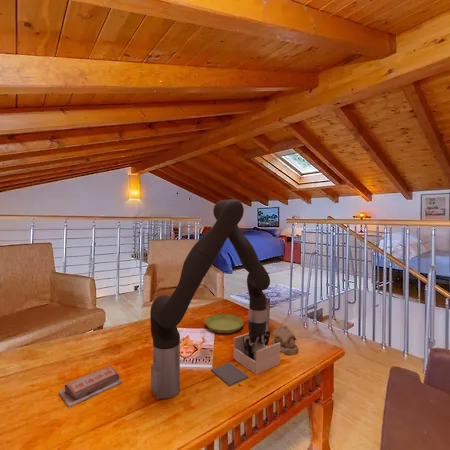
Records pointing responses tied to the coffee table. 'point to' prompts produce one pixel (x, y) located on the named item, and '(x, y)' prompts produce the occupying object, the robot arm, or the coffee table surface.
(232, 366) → the mat
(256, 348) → the box
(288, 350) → the ceramic model
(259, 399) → the coffee table surface
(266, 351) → the carton
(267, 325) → the coffee box
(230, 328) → the saucer
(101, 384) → the packaged product
